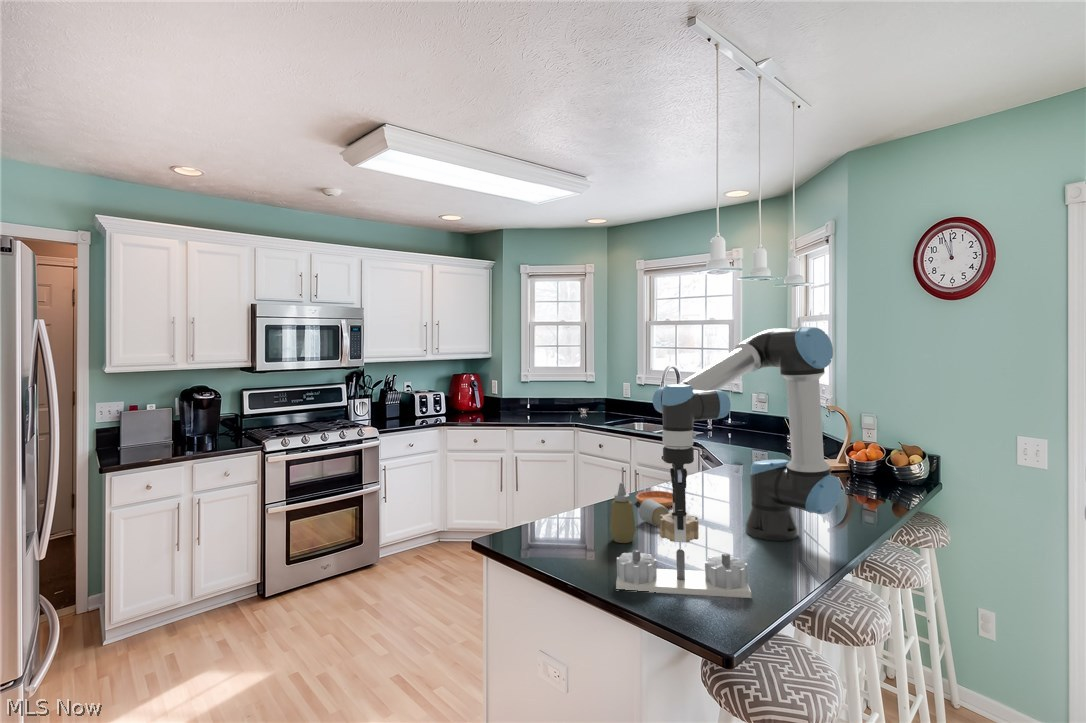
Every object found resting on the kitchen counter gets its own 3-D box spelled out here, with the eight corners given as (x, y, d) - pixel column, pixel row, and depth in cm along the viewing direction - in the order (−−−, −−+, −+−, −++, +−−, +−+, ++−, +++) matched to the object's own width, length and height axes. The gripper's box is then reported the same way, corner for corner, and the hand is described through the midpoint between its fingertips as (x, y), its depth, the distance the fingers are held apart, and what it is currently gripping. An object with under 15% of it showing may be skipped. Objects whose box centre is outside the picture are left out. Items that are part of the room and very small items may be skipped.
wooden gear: (659, 528, 146) (659, 511, 146) (696, 530, 144) (696, 513, 144) (660, 541, 137) (660, 523, 137) (699, 543, 135) (699, 524, 135)
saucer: (680, 510, 203) (680, 502, 203) (635, 509, 206) (635, 501, 206) (677, 498, 219) (677, 491, 219) (636, 497, 222) (636, 490, 222)
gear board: (743, 578, 144) (743, 544, 143) (751, 598, 133) (750, 560, 132) (618, 572, 150) (617, 539, 149) (616, 590, 139) (615, 554, 139)
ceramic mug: (652, 529, 183) (652, 506, 183) (638, 522, 191) (638, 500, 190) (678, 524, 188) (678, 502, 187) (663, 518, 195) (663, 496, 195)
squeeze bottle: (619, 547, 168) (618, 487, 168) (604, 539, 175) (603, 482, 175) (641, 542, 172) (640, 484, 171) (625, 534, 179) (624, 478, 179)
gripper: (697, 455, 129) (698, 551, 129) (690, 439, 150) (691, 521, 151) (663, 454, 130) (665, 549, 131) (662, 438, 152) (663, 520, 152)
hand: (679, 534), depth 141 cm, fingers closed on wooden gear, 9 cm apart
